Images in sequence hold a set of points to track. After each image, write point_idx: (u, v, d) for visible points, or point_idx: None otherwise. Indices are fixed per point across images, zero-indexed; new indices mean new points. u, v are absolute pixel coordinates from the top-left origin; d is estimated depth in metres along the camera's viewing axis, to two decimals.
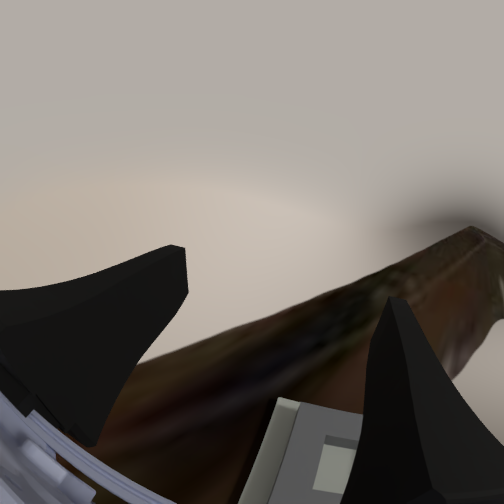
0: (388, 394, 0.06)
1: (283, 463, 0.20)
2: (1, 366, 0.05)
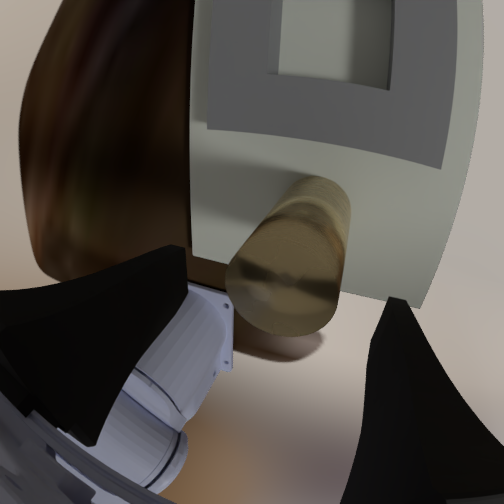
0: (388, 394, 0.06)
1: (212, 40, 0.12)
2: (1, 366, 0.05)
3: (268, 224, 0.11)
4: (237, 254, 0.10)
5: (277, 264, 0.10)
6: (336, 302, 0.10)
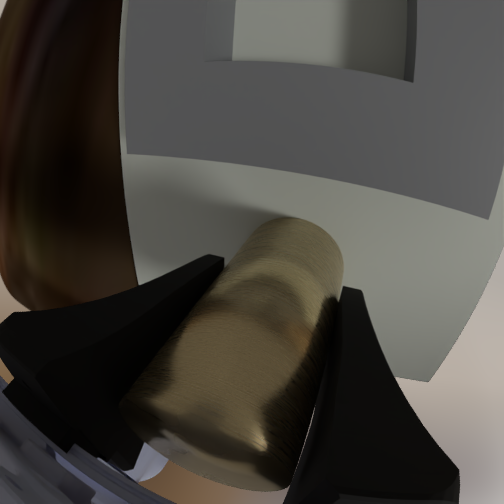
0: (329, 382, 0.07)
1: (130, 21, 0.07)
2: (31, 395, 0.05)
3: (179, 345, 0.06)
4: (124, 401, 0.05)
5: (184, 431, 0.05)
6: (289, 481, 0.05)
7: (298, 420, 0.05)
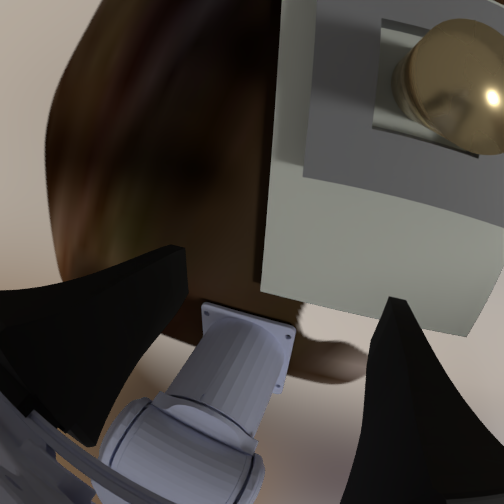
0: (388, 394, 0.06)
1: (314, 81, 0.12)
2: (1, 366, 0.05)
3: None
4: (431, 31, 0.05)
5: (476, 46, 0.05)
6: None
7: None
